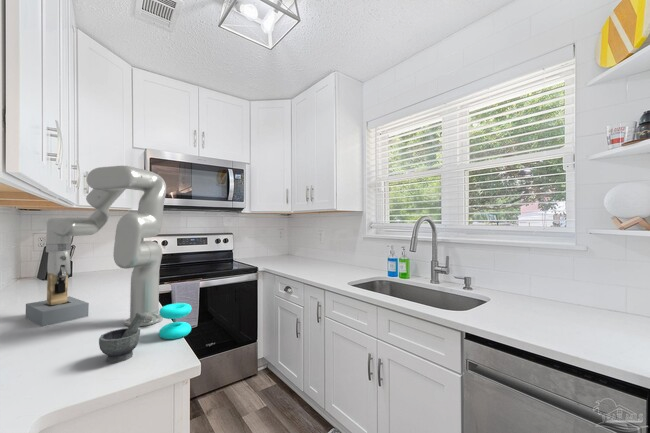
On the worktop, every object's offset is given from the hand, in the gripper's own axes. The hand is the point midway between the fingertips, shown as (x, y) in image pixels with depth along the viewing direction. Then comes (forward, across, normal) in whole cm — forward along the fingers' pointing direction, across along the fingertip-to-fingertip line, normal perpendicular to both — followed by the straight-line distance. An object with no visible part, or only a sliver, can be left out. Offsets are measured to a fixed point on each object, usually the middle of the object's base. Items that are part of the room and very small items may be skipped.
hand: (57, 291), depth 119 cm
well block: (+10, 0, 0) cm, 10 cm away
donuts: (+10, -59, -15) cm, 62 cm away
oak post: (+5, 0, 0) cm, 5 cm away
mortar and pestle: (+10, -62, +3) cm, 63 cm away
